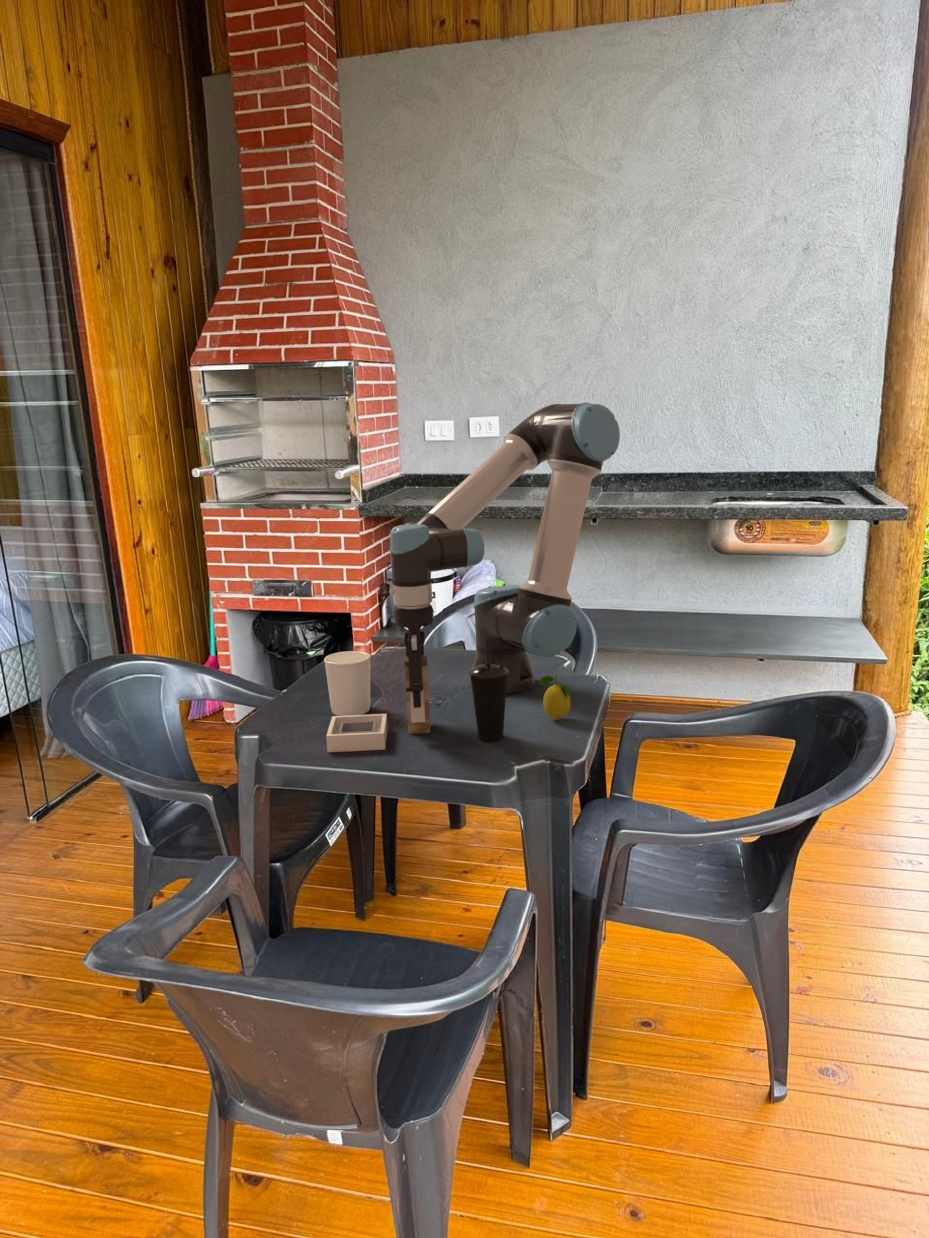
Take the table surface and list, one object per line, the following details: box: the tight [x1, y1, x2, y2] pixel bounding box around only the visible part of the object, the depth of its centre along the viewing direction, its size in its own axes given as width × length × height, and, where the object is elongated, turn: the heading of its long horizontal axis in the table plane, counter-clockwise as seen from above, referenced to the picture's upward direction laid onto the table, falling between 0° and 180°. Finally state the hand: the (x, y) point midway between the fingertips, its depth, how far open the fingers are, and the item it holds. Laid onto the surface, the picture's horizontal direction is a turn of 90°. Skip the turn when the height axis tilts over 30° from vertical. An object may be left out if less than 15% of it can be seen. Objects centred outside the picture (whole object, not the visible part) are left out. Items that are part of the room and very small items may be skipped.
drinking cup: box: [468, 639, 508, 743], centre depth 171 cm, size 8×8×20 cm
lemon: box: [538, 673, 572, 721], centre depth 180 cm, size 7×6×10 cm
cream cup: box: [323, 650, 371, 716], centre depth 190 cm, size 10×10×12 cm
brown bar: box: [403, 655, 431, 735], centre depth 177 cm, size 4×4×15 cm
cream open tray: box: [325, 713, 389, 753], centre depth 174 cm, size 11×11×3 cm
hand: (418, 712), depth 178 cm, fingers open, 10 cm apart
